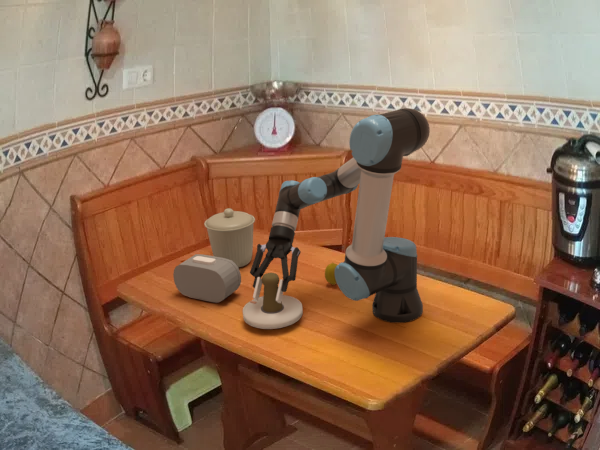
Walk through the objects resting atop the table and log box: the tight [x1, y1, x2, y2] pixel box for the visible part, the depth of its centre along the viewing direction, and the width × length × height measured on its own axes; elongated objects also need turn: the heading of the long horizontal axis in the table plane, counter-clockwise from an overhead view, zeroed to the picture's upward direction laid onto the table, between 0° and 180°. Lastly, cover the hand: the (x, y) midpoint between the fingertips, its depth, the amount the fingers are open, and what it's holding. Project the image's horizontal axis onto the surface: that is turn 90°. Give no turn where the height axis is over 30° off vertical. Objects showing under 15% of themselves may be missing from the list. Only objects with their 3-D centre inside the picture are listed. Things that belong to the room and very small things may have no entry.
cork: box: [261, 272, 283, 312], centre depth 202 cm, size 6×6×11 cm
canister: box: [203, 207, 256, 269], centre depth 244 cm, size 18×18×21 cm
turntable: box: [242, 294, 304, 330], centre depth 205 cm, size 18×18×2 cm
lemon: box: [324, 262, 338, 286], centre depth 225 cm, size 6×6×8 cm
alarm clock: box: [172, 253, 242, 304], centre depth 222 cm, size 21×10×13 cm, turn 61°
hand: (266, 300), depth 200 cm, fingers open, 7 cm apart
